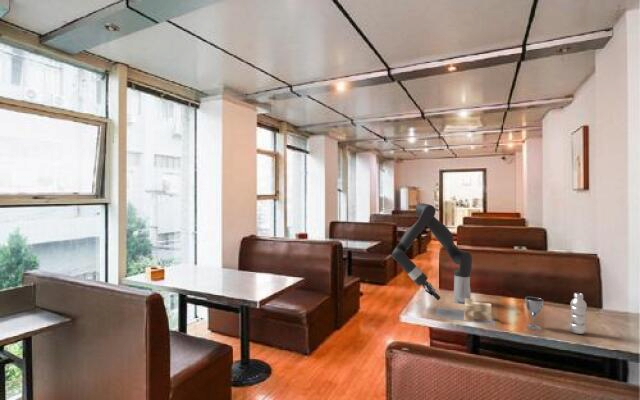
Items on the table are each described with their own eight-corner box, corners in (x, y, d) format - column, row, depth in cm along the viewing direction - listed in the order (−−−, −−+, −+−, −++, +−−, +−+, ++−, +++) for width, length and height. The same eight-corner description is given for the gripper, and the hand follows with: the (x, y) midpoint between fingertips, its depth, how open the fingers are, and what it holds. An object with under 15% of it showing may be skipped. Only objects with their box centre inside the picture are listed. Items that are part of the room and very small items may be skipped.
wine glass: (540, 325, 176) (540, 297, 176) (544, 331, 169) (545, 302, 169) (523, 323, 179) (523, 296, 179) (526, 329, 171) (527, 300, 171)
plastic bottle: (565, 330, 170) (566, 291, 170) (578, 330, 171) (579, 291, 171) (576, 335, 164) (577, 295, 164) (589, 335, 164) (590, 295, 164)
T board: (434, 318, 185) (434, 316, 185) (436, 308, 201) (436, 306, 201) (495, 327, 173) (495, 325, 173) (492, 316, 190) (492, 314, 190)
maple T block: (465, 319, 180) (465, 305, 180) (464, 311, 193) (465, 298, 193) (491, 323, 175) (492, 308, 175) (489, 315, 188) (490, 301, 188)
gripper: (421, 274, 189) (443, 298, 185) (423, 269, 202) (444, 291, 197) (411, 282, 192) (433, 306, 187) (414, 277, 204) (435, 299, 199)
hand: (439, 299), depth 192 cm, fingers closed
